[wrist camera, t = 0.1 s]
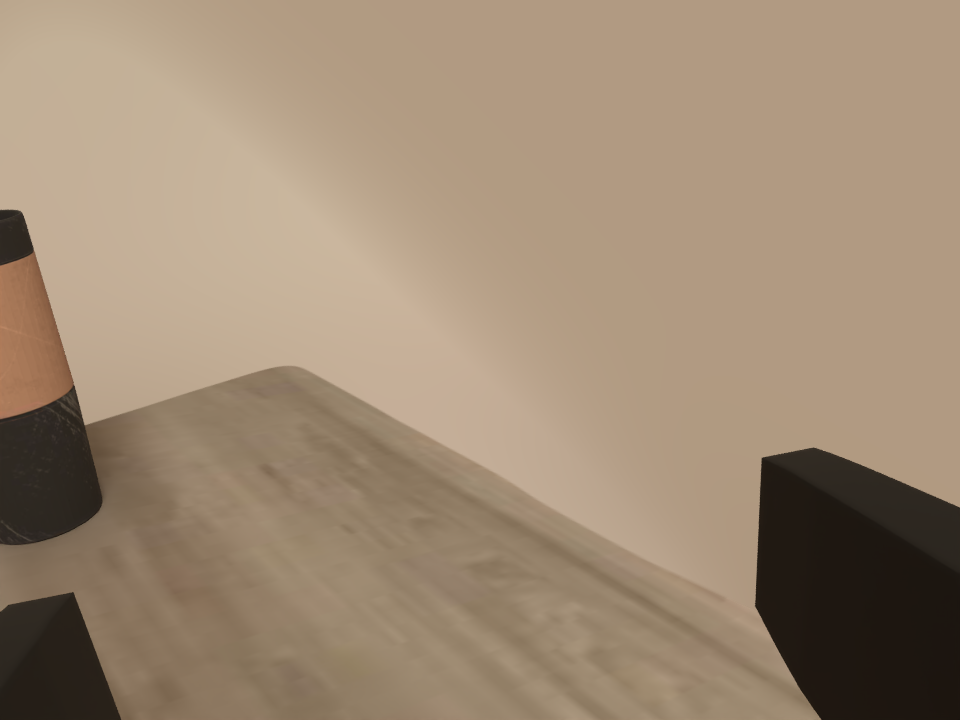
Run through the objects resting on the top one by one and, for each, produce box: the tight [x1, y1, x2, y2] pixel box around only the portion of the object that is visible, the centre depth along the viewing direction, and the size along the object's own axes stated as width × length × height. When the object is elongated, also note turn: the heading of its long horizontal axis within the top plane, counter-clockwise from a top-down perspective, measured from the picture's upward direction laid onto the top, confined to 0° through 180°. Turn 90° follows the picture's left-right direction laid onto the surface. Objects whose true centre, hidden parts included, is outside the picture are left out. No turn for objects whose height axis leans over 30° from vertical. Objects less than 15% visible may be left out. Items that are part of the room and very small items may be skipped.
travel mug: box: [0, 210, 102, 544], centre depth 55 cm, size 8×8×20 cm
